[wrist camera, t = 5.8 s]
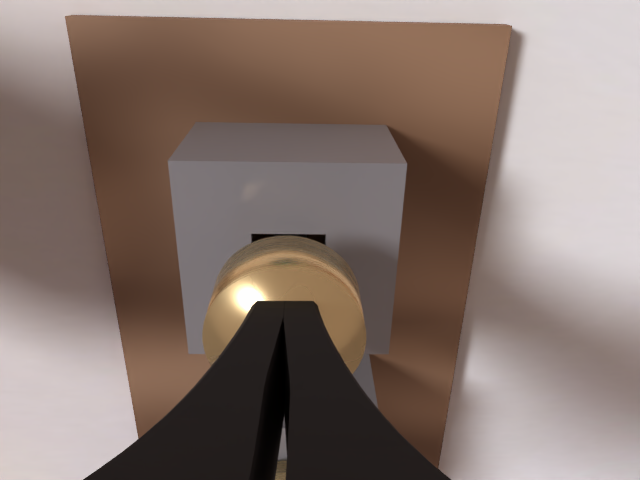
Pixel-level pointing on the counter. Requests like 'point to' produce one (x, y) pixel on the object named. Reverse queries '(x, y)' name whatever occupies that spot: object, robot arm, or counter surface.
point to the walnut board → (295, 108)
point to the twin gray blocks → (290, 210)
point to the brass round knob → (287, 292)
